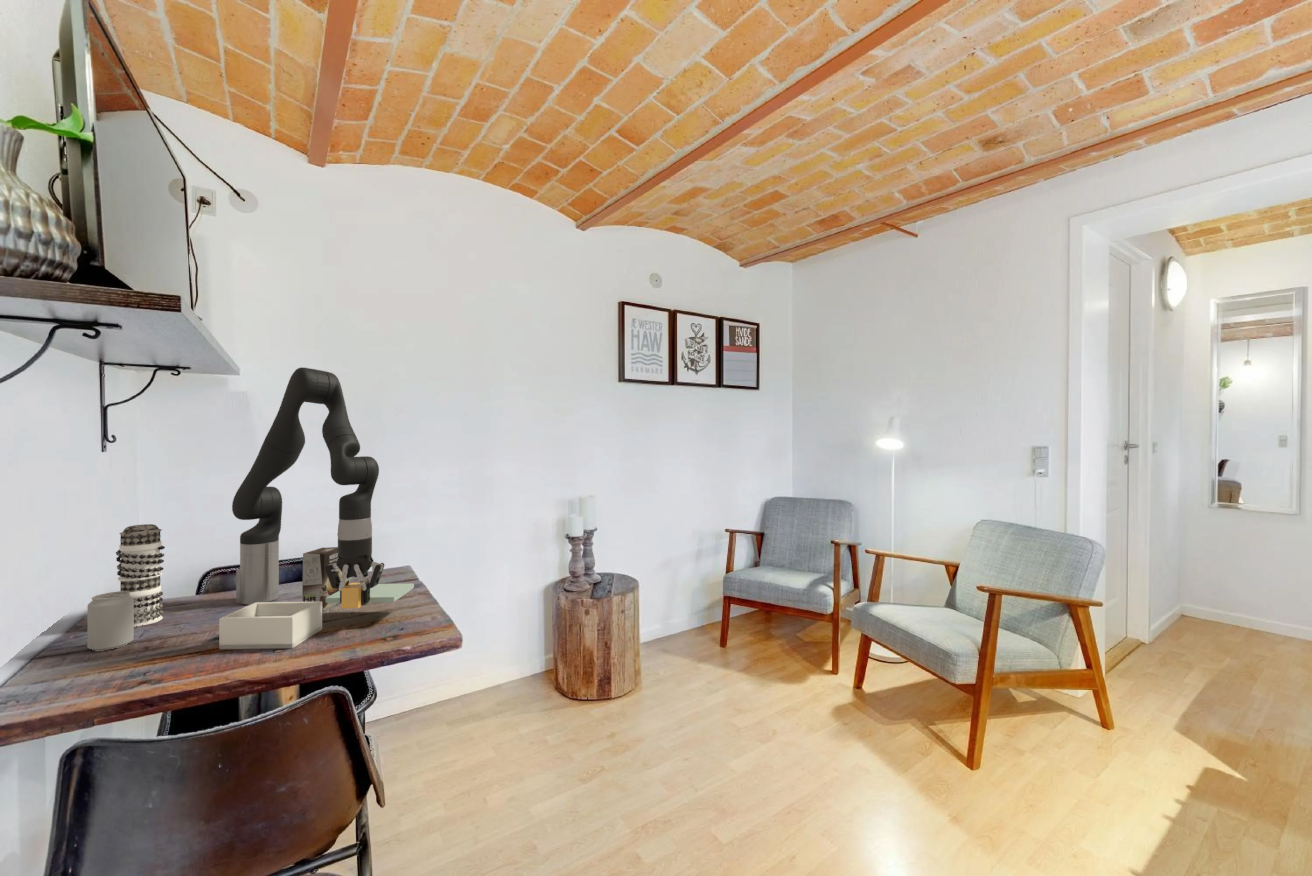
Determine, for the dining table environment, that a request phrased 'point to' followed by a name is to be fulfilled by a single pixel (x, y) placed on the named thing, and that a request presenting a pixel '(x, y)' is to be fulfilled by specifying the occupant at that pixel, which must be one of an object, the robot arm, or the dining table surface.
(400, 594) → the lid
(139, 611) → the decorative candle
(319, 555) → the coffee box
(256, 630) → the tub
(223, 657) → the dining table surface
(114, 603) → the can
